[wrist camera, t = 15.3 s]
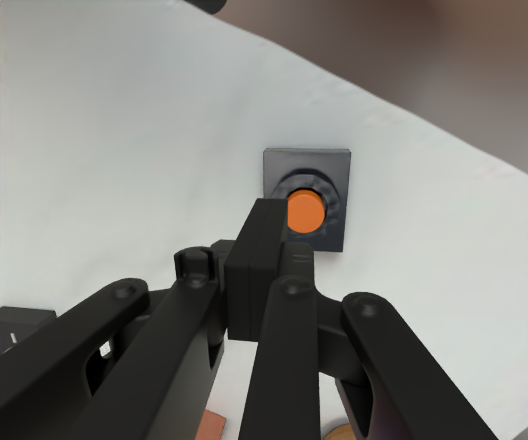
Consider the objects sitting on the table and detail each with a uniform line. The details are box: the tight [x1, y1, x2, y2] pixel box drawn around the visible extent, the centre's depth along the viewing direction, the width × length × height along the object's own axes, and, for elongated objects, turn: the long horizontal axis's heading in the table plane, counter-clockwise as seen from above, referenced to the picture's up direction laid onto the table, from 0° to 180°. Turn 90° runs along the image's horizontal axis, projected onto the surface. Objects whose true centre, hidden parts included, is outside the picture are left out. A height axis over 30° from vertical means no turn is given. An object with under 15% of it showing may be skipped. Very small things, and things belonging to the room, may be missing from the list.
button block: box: [263, 148, 351, 252], centre depth 31 cm, size 10×8×4 cm
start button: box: [288, 190, 325, 233], centre depth 29 cm, size 4×4×2 cm
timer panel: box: [0, 307, 56, 355], centre depth 44 cm, size 12×9×3 cm
